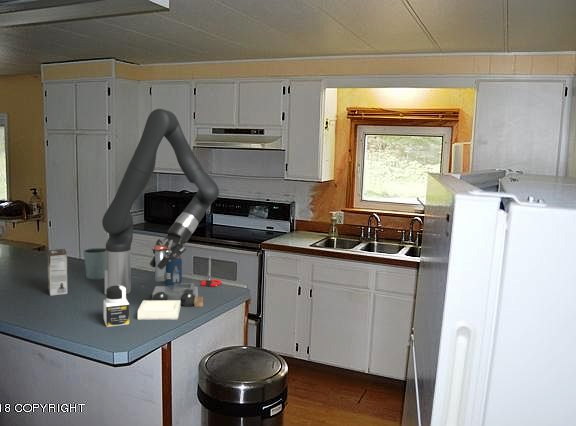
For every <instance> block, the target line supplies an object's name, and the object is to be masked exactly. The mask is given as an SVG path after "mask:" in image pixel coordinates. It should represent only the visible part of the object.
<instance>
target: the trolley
mask: <svg viewBox="0 0 576 426" xmlns="http://www.w3.org/2000/svg"><path fill="white" fill-rule="evenodd" d="M198 288H199V287H198V286H195V283H187V282H186V283H182V282H181V283H175V284H174V286H168V285H165V286H164V285H163V286H162V285H161V286H158V285H157V286H155V287H154V289H153V291H152V295H151V296H152V297H151V300H181V305H182V306H183V307H187V308H188V307H189V308H190V307H192V306H193V305H194V306H195V297H199V291H198Z"/></svg>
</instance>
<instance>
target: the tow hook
mask: <svg viewBox="0 0 576 426" xmlns="http://www.w3.org/2000/svg"><path fill="white" fill-rule="evenodd" d="M211 259H212V256H211V255H209V256H208V262H207V263H208V264H207V274H206V275H207V277H206V279H204V280H202V281H201V282H200V286H204V287H210V288H211V287H214V288H216V287H217V286H220V285H222V280H219V279H212V274H211V273H212V272H211V271H212V270H211V269H212V260H211Z"/></svg>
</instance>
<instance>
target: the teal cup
mask: <svg viewBox="0 0 576 426" xmlns="http://www.w3.org/2000/svg"><path fill="white" fill-rule="evenodd" d="M82 252H83V259H84V260H83V261H84V268H85V276H86V279H88V280H103V279H105V273H104V271H105V270H106V247H105V248H104V247H90V248H86V249H84V250H83V251H82Z"/></svg>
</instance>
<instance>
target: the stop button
mask: <svg viewBox="0 0 576 426" xmlns="http://www.w3.org/2000/svg"><path fill="white" fill-rule="evenodd" d="M154 249H155V254H154V256H155V267H154V281H155V282H165V280H166V266H165V267H164V268H163V269H162V270H161V269H159V268H158V267H157V265H158V264H159V262H160V261H161V260H162V258H163V257H164V256H165V254H166V249H167V246H166V245H156V244H155V245H154V246H153V250H154ZM164 258H165V257H164Z"/></svg>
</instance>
